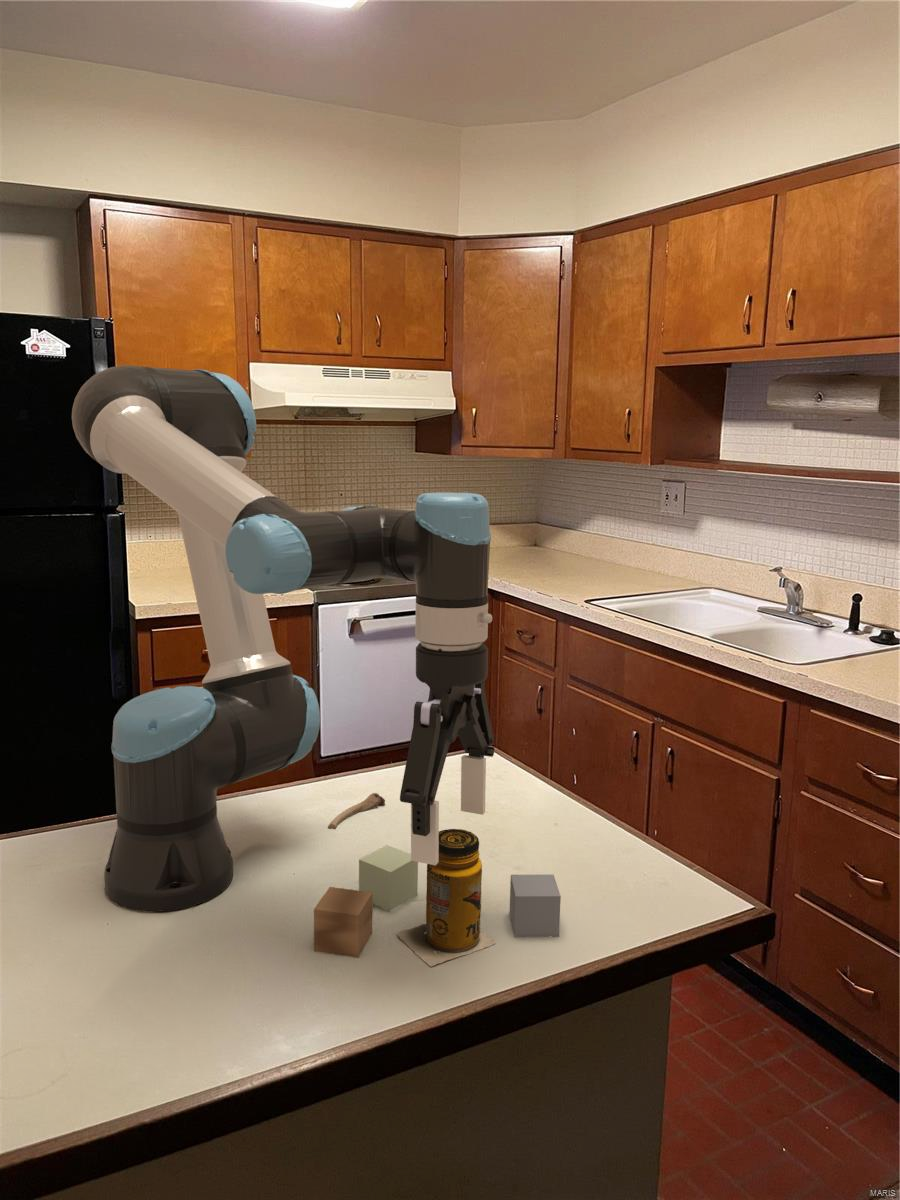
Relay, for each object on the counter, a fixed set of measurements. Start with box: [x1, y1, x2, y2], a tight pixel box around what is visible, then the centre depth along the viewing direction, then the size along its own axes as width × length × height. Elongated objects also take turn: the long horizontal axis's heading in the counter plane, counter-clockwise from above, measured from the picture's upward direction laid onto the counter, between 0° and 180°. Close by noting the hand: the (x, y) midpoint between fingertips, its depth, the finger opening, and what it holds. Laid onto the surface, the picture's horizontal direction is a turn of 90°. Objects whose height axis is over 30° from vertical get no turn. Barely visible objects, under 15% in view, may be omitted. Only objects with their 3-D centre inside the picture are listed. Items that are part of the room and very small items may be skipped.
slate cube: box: [508, 874, 562, 938], centre depth 103 cm, size 5×5×5 cm
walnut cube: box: [313, 886, 374, 959], centre depth 99 cm, size 5×5×5 cm
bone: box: [327, 792, 386, 830], centre depth 132 cm, size 3×11×2 cm, turn 143°
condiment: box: [395, 828, 496, 968], centre depth 99 cm, size 7×8×12 cm
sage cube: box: [358, 844, 419, 912], centre depth 109 cm, size 5×5×5 cm
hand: (450, 835), depth 97 cm, fingers open, 13 cm apart
